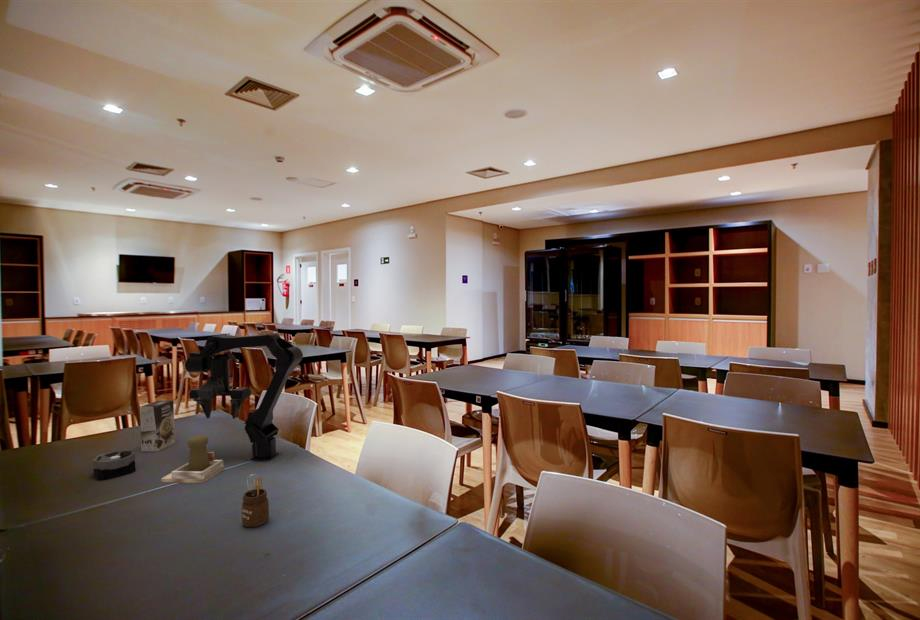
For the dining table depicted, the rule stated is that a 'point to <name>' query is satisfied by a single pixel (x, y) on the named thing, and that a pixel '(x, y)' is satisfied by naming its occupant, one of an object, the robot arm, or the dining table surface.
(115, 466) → the cpu cooler
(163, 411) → the coffee box
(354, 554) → the dining table surface
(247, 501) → the utensil holder
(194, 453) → the cork
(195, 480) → the wooden box
